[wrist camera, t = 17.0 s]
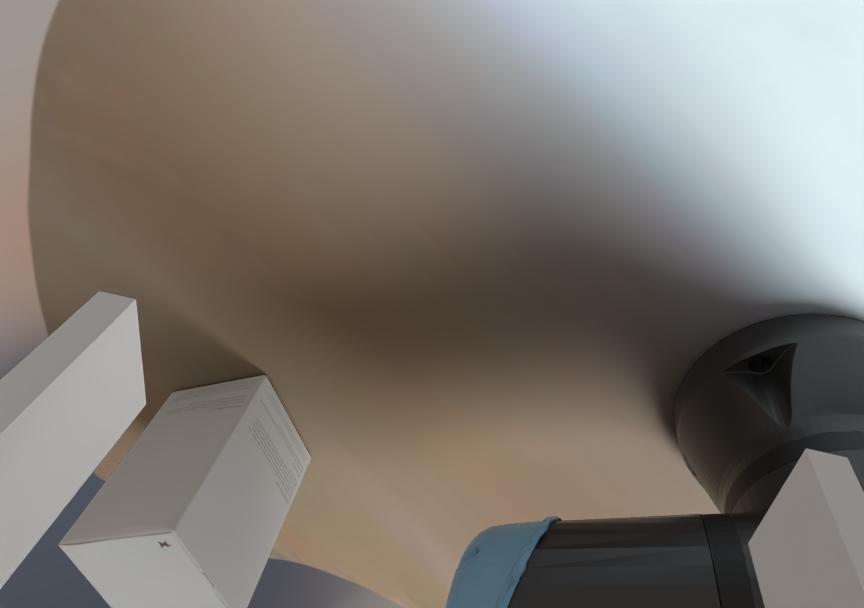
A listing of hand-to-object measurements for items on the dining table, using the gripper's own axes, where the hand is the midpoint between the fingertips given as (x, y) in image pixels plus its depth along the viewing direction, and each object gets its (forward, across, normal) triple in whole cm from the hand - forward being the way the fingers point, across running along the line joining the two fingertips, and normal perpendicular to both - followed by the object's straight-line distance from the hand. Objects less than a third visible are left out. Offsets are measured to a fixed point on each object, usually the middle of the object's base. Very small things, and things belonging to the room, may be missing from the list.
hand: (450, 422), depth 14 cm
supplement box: (+29, +16, +31) cm, 45 cm away
